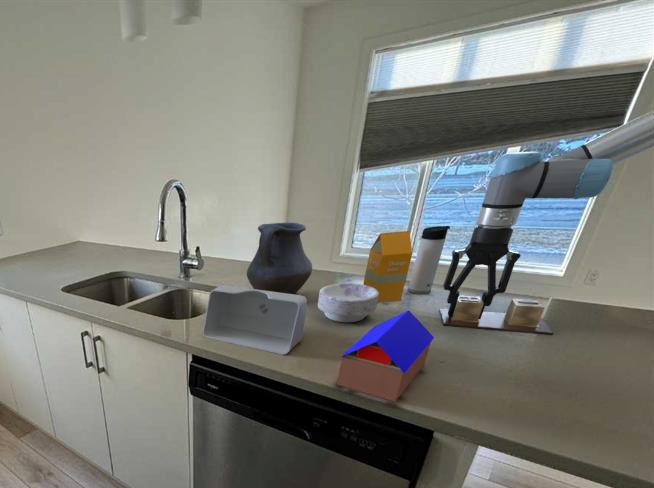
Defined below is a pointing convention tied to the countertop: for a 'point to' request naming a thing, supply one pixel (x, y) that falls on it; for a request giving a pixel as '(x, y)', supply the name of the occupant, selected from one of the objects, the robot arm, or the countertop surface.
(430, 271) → the travel mug
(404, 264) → the orange juice
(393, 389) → the house
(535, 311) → the wooden letter tile box
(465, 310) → the wooden letter cube
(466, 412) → the countertop surface
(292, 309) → the gray plastic bin
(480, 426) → the countertop surface
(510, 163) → the robot arm
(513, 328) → the word board
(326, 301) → the paper bowls
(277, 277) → the pitcher
